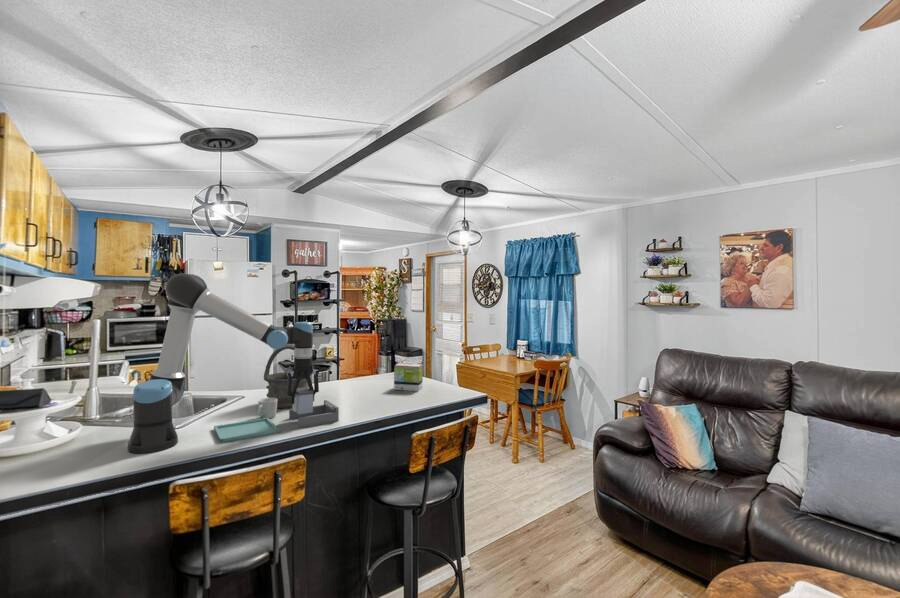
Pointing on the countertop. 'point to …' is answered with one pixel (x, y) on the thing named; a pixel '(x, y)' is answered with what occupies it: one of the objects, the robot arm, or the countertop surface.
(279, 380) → the dark handled basket
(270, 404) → the cup
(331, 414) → the tray
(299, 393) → the block
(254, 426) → the tray
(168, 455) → the countertop surface
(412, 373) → the tea box
